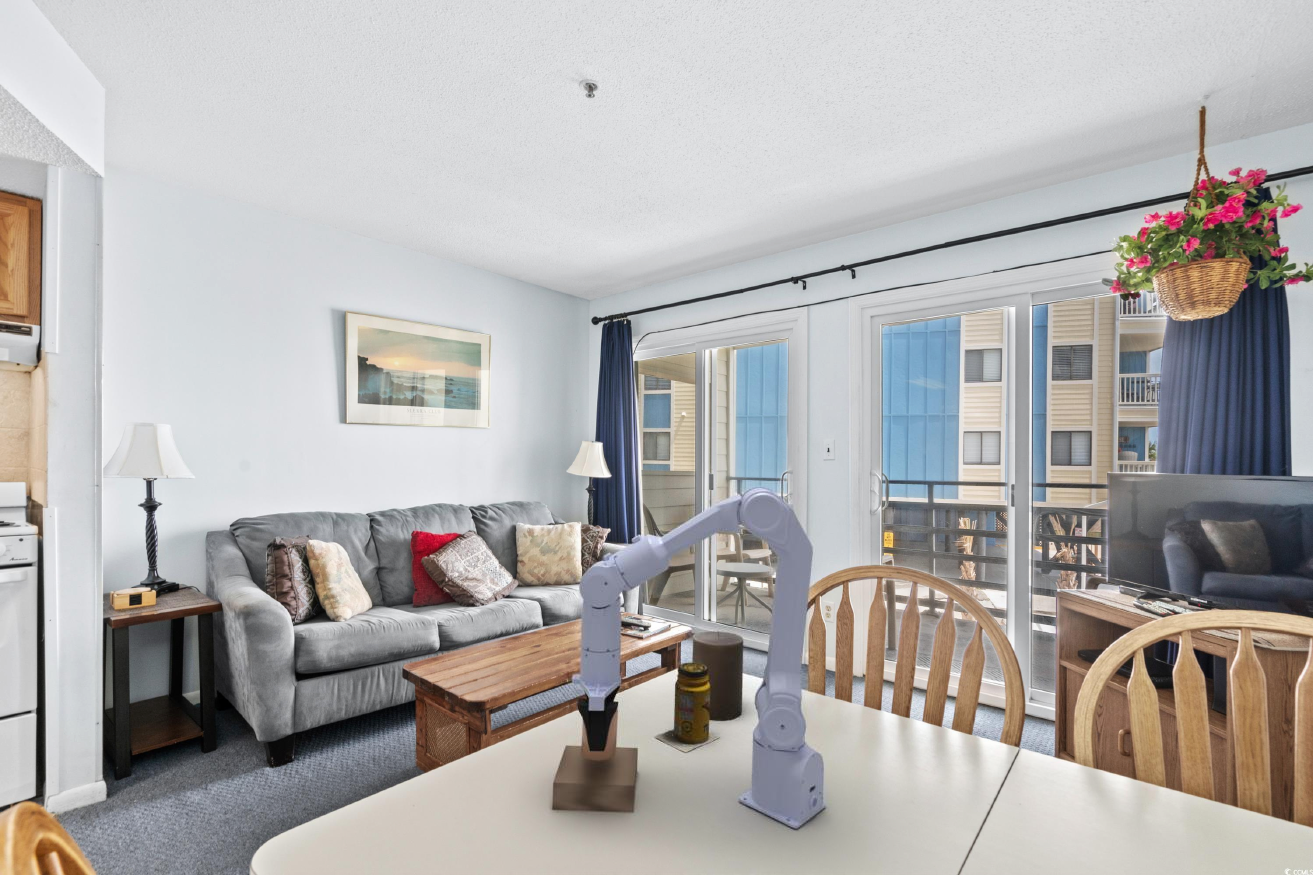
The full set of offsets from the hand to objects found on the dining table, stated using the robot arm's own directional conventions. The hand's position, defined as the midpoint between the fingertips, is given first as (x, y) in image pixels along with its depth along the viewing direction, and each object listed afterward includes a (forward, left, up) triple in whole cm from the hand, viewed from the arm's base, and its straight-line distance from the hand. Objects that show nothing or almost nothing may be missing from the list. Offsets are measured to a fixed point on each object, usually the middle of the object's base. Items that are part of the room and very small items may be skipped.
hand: (598, 740), depth 93 cm
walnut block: (0, 0, -7) cm, 7 cm away
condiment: (+2, -22, -7) cm, 23 cm away
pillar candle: (+6, -35, -7) cm, 36 cm away
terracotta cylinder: (0, 0, -2) cm, 2 cm away
